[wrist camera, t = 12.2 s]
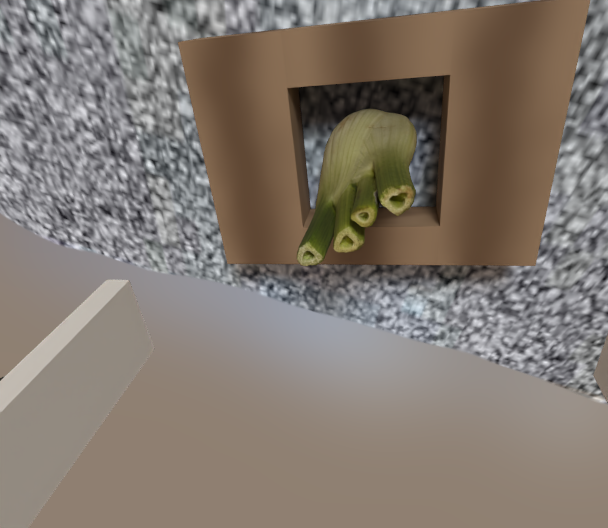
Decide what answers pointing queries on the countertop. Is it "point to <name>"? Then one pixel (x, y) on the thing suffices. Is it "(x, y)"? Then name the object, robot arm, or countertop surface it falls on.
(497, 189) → the jig block
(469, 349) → the countertop surface
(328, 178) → the fennel bulb
